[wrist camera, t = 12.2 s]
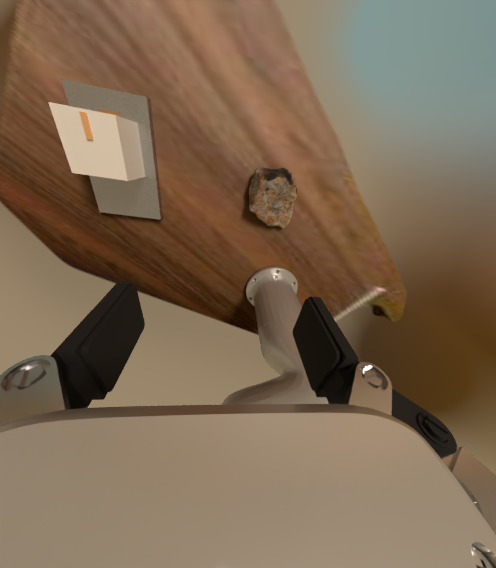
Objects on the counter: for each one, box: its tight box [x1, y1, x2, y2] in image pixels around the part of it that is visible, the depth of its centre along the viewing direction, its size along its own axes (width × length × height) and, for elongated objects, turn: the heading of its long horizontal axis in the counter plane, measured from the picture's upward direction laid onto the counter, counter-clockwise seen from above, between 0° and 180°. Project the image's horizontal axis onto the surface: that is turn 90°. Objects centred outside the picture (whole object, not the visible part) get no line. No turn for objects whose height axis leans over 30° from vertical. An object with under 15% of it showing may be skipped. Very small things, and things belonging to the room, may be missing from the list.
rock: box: [249, 168, 297, 228], centre depth 32 cm, size 9×6×10 cm
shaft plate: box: [61, 79, 163, 220], centre depth 27 cm, size 16×10×4 cm, turn 171°
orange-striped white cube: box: [49, 102, 145, 181], centre depth 24 cm, size 7×7×6 cm
